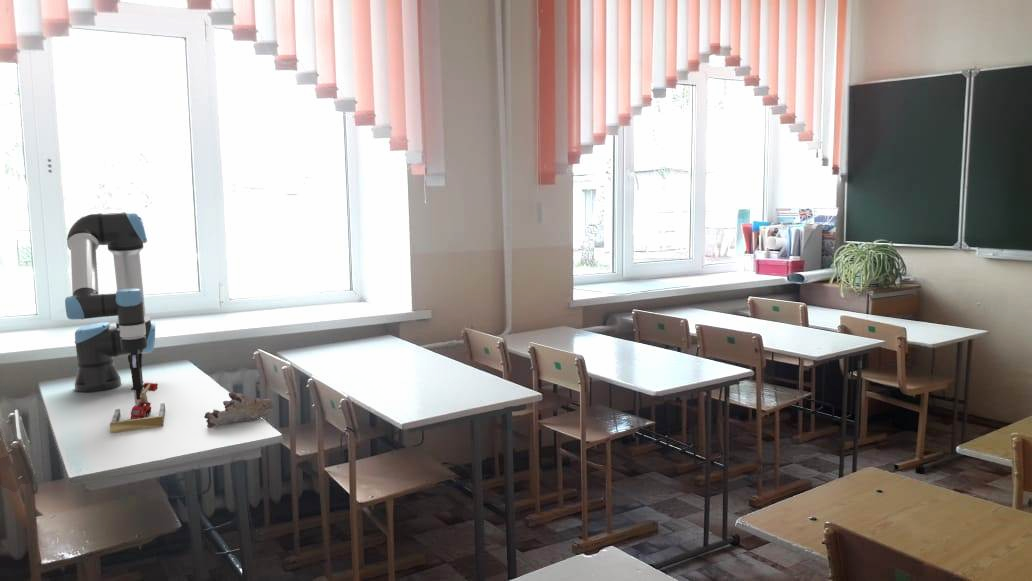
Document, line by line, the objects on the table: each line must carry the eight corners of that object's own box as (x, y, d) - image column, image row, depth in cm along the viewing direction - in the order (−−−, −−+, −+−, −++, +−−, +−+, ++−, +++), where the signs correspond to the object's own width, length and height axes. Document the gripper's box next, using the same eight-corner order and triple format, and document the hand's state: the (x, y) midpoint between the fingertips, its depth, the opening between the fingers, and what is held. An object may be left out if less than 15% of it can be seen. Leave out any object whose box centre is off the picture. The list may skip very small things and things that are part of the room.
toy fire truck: (128, 422, 241) (131, 392, 239) (145, 409, 254) (147, 380, 253) (140, 423, 241) (142, 393, 240) (155, 410, 255) (158, 382, 253)
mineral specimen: (221, 416, 228) (210, 388, 232) (206, 435, 232) (195, 407, 236) (280, 410, 244) (269, 384, 248) (265, 428, 248) (254, 402, 253)
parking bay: (116, 416, 249) (115, 407, 248) (165, 410, 254) (164, 401, 254) (110, 433, 232) (109, 423, 232) (163, 426, 238) (162, 416, 237)
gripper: (121, 334, 252) (129, 404, 256) (118, 342, 240) (126, 415, 244) (147, 332, 255) (154, 401, 258) (144, 339, 243) (152, 411, 246)
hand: (140, 408), depth 251 cm, fingers closed
